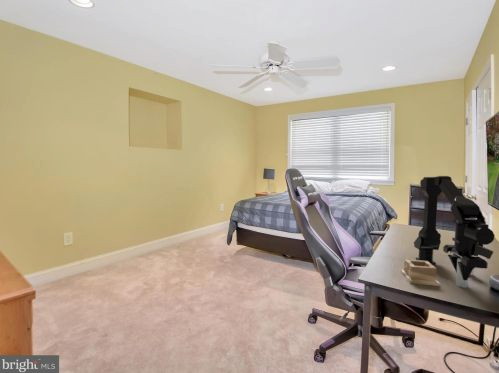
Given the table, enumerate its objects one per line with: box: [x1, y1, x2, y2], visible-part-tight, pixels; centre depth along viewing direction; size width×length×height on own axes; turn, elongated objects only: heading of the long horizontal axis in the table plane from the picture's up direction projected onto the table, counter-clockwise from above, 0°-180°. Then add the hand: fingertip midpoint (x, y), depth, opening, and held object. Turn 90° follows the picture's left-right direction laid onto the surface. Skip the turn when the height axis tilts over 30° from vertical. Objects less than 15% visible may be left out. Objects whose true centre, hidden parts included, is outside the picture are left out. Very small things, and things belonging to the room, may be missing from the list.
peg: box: [455, 258, 469, 289], centre depth 102 cm, size 4×4×10 cm
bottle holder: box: [400, 259, 441, 287], centre depth 109 cm, size 12×10×6 cm
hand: (462, 277), depth 103 cm, fingers open, 4 cm apart
